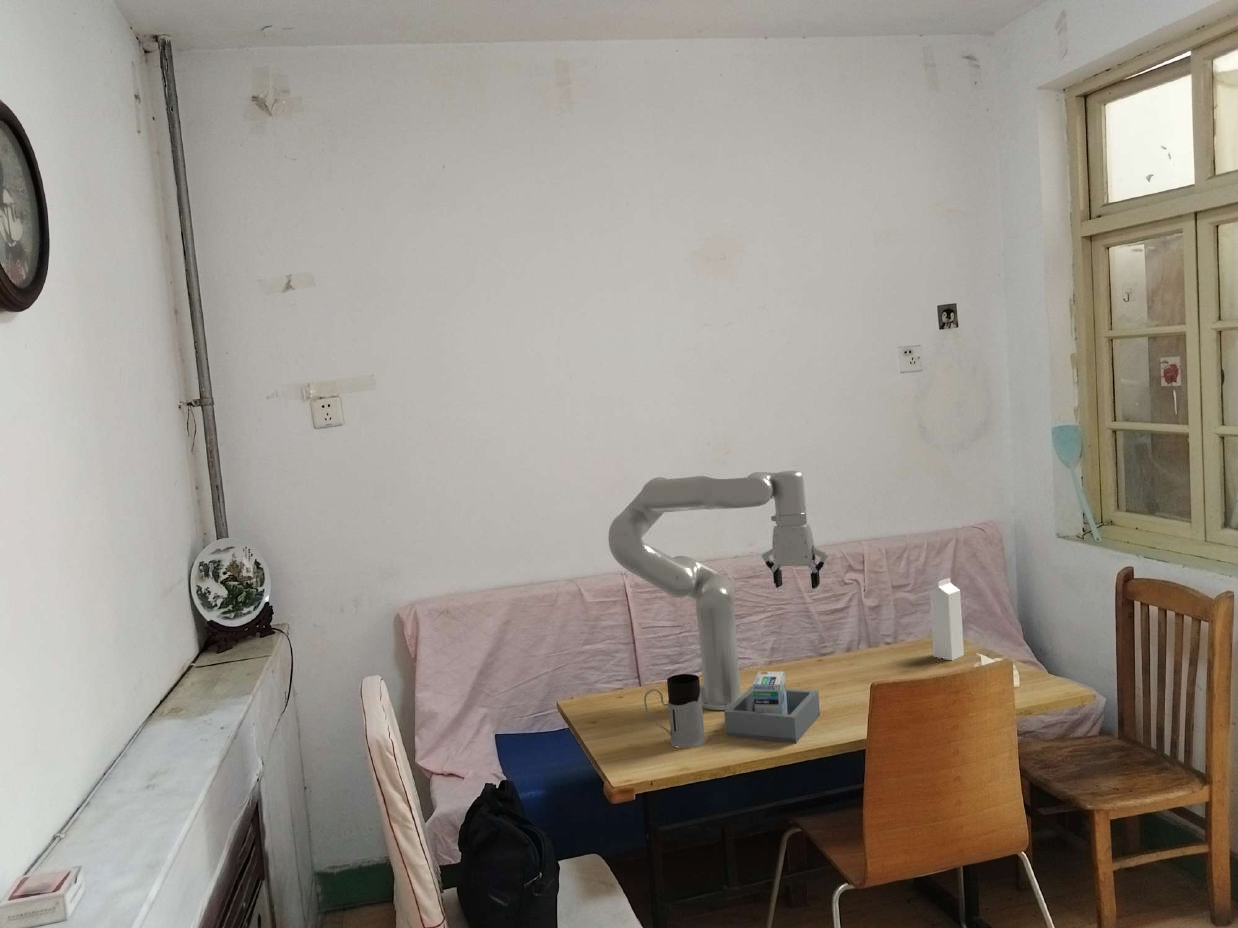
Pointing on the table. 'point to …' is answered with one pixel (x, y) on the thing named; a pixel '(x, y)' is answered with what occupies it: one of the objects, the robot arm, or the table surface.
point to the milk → (946, 621)
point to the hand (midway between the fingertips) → (797, 586)
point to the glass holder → (683, 711)
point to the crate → (773, 717)
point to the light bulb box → (770, 692)
